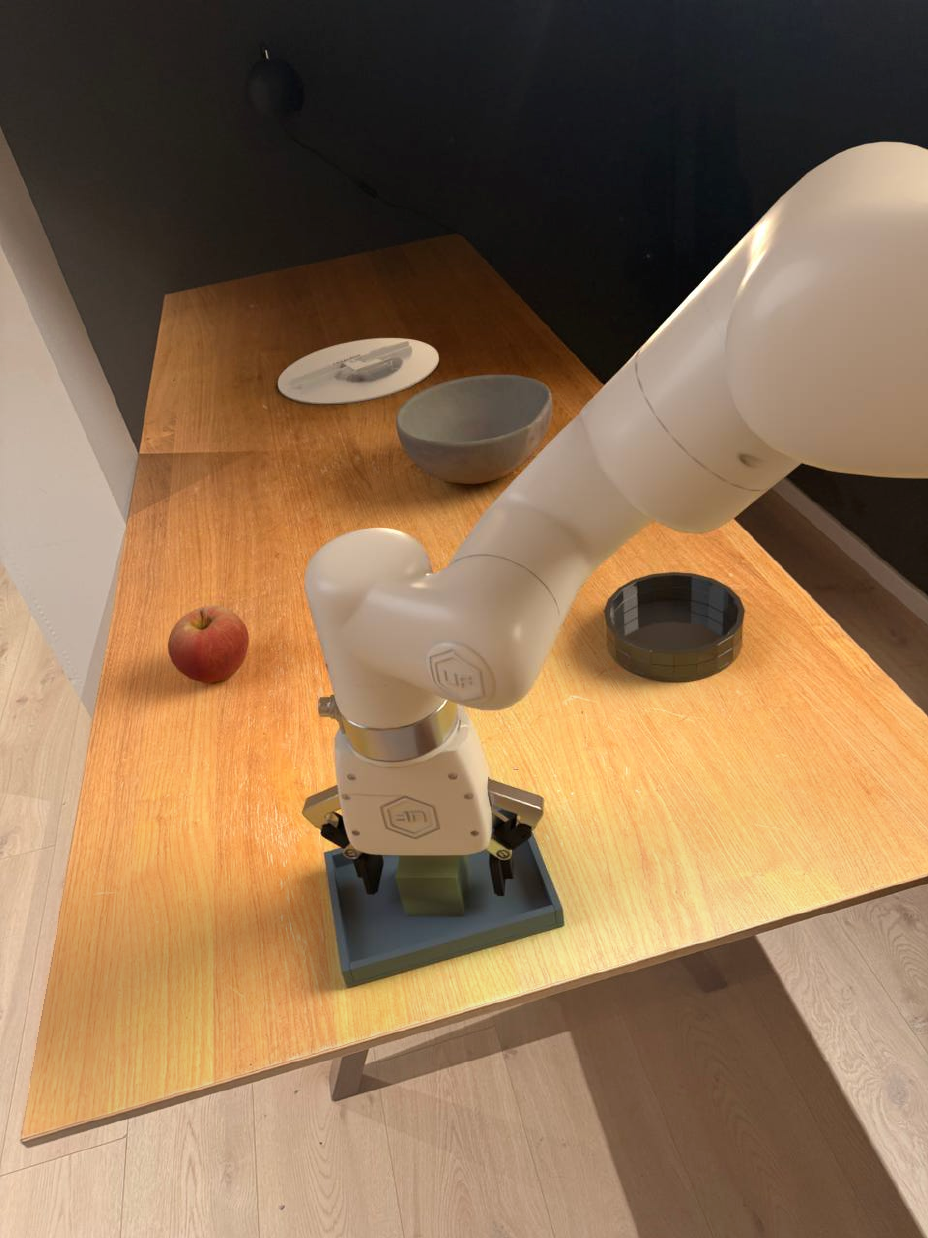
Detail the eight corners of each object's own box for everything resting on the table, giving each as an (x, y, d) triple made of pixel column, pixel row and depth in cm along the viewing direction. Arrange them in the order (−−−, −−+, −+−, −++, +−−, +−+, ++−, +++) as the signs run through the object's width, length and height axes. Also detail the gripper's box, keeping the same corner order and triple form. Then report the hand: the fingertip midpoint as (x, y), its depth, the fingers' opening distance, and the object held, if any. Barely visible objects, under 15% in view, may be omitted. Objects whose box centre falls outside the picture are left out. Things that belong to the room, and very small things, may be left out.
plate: (394, 327, 179) (393, 321, 178) (468, 367, 158) (467, 360, 157) (255, 372, 169) (253, 365, 169) (315, 420, 149) (313, 412, 148)
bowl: (438, 435, 139) (428, 369, 133) (574, 441, 131) (569, 372, 126) (382, 504, 124) (367, 434, 118) (531, 515, 117) (523, 441, 111)
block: (471, 867, 74) (463, 828, 71) (464, 916, 70) (456, 877, 68) (414, 867, 75) (405, 828, 72) (405, 915, 71) (395, 877, 68)
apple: (273, 655, 100) (253, 593, 96) (227, 703, 95) (203, 640, 90) (214, 641, 104) (192, 581, 99) (166, 687, 98) (141, 625, 94)
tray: (521, 815, 78) (519, 798, 77) (564, 926, 69) (563, 908, 68) (328, 868, 76) (323, 852, 75) (347, 988, 67) (341, 972, 66)
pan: (764, 621, 94) (766, 592, 92) (706, 699, 86) (707, 669, 84) (645, 587, 102) (644, 560, 100) (581, 656, 94) (579, 628, 92)
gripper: (256, 754, 60) (316, 920, 70) (528, 750, 57) (550, 924, 67) (287, 677, 66) (338, 840, 76) (535, 670, 63) (554, 841, 73)
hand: (438, 879), depth 72 cm, fingers open, 9 cm apart
